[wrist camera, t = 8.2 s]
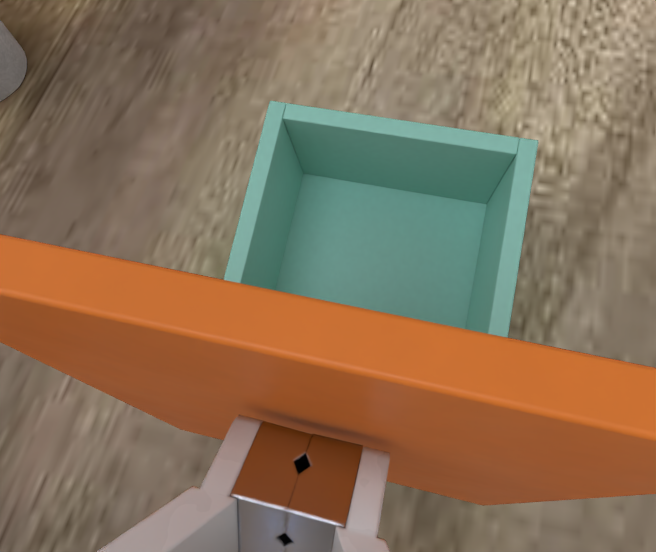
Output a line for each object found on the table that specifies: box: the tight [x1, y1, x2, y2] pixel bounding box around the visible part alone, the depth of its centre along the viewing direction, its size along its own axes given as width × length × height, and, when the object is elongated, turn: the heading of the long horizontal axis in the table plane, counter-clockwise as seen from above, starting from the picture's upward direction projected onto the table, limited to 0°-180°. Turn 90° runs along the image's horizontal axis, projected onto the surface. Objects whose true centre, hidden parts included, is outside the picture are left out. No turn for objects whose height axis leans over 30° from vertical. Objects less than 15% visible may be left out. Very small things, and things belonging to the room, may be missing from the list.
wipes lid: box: [0, 234, 656, 505], centre depth 13 cm, size 15×12×1 cm
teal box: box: [224, 101, 538, 338], centre depth 25 cm, size 15×12×7 cm
